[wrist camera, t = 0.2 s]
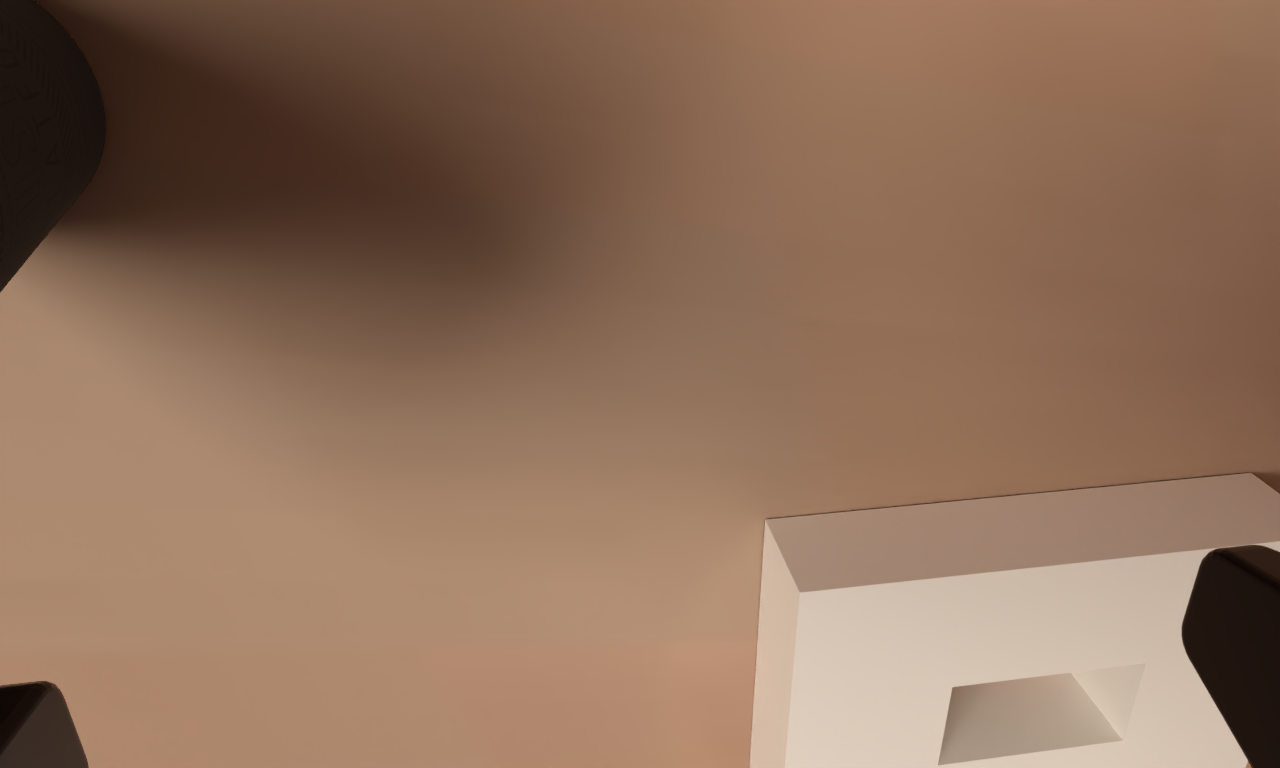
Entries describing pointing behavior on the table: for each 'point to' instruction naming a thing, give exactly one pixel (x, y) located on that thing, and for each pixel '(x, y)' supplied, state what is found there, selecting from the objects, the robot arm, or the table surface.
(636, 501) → the table surface
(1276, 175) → the table surface
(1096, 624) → the white slotted block
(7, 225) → the drinking cup
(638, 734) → the table surface
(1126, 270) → the table surface
